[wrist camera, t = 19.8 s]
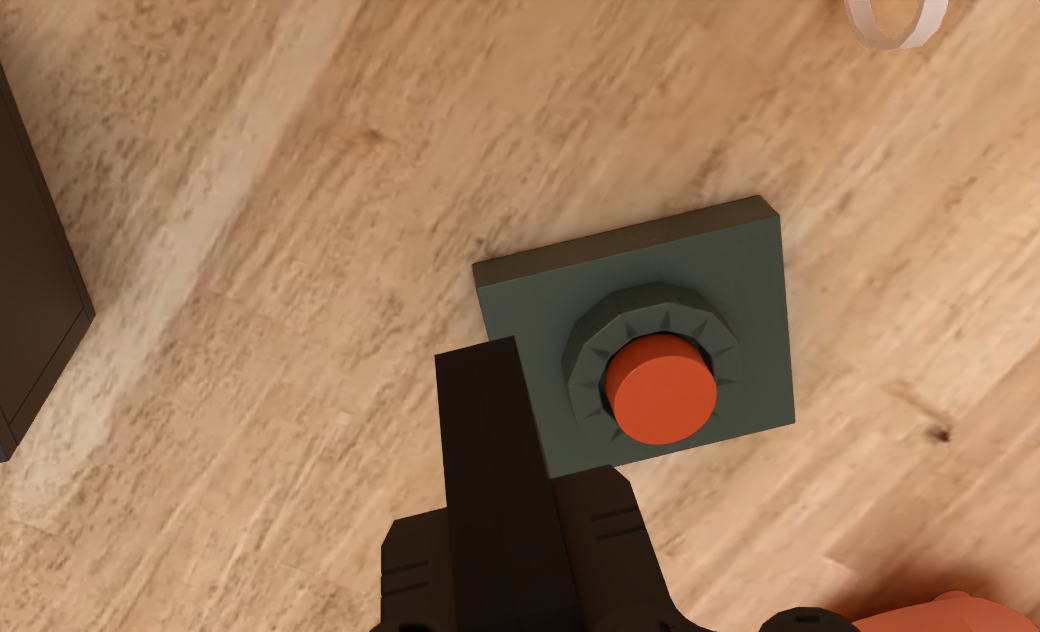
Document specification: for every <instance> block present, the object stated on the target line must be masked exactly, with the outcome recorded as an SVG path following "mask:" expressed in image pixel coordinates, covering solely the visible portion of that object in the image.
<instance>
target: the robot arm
mask: <svg viewBox="0 0 1040 632" xmlns="http://www.w3.org/2000/svg"><path fill="white" fill-rule="evenodd" d="M435 367H436V380H437V392H438V404H439V416H440V429H441V441H442V453H443V465H444V478H445V490H446V502H447V507H445V508H441V509H437V510H433V511H429V512H425V513H421V514H417V515H413V516H409V517H405V518H402V519H398V520H394V522H393V524H392V526H391V528H390V530H389V532H388V534H387V536H386V538H385V540H384V542H383V544H382V546H381V573H382V577H381V595H382V598H381V622H380V623H379V624H378V625H377V626H376V627H374V628H373V629H372V630H370V631H369V632H716V631H711V630H708V629H706V628H703V627H700V626H698V625H696V624H694V623H693V622H691V621H689V620H688V619H686V618H685V617H684V616H683V615H682V614H681V613H680V612H679V611H678V610H677V609H676V607H675V605H674V603H673V601H672V599H671V597H670V595H669V592H668V589H667V586H666V583H665V580H664V578H663V575H662V572H661V569H660V566H659V563H658V561H657V558H656V555H655V552H654V549H653V546H652V544H651V541H650V538H649V535H648V532H647V529H646V528H645V524H644V521H643V518H642V515H641V512H640V510H639V507H638V504H637V501H636V498H635V495H634V493H633V490H632V487H631V484H630V481H628V480H627V479H626V478H625V477H624V476H623V475H622V474H620V473H619V472H618V471H617V470H616V469H615V468H614V467H612V466H611V465H610V464H608V465H604V466H600V467H596V468H592V469H588V470H584V471H580V472H576V473H572V474H568V475H564V476H560V477H556V478H552V479H551V478H550V474H549V470H548V465H547V461H546V457H545V453H544V449H543V445H542V441H541V437H540V433H539V429H538V426H537V422H536V418H535V414H534V410H533V406H532V402H531V398H530V394H529V391H528V387H527V383H526V379H525V375H524V371H523V367H522V363H521V360H520V356H519V352H518V348H517V344H516V340H515V336H514V335H513V336H509V337H505V338H501V339H497V340H493V341H489V342H485V343H481V344H477V345H473V346H469V347H465V348H461V349H457V350H453V351H449V352H445V353H441V354H437V355H435ZM759 632H861V631H860V630H859V629H858V628H857V627H856V626H855V625H853V624H852V623H851V622H849V621H848V620H847V619H845V618H844V617H842V616H841V615H840V614H837V613H834V612H831V611H828V610H825V609H822V608H817V607H796V608H792V609H789V610H785V611H782V612H778V613H777V614H775V615H774V616H773V617H771V618H770V619H769V620H767V621H766V622H765V623H763V624H762V626H761V628H760V630H759Z"/></svg>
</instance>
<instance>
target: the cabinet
mask: <svg viewBox="0 0 1040 632" xmlns="http://www.w3.org/2000/svg"><path fill="white" fill-rule="evenodd" d="M94 317H95V312H94V309H93V307H92V304H91V301H90V299H89V296H88V293H87V291H86V288H85V286H84V283H83V280H82V278H81V275H80V272H79V270H78V267H77V265H76V262H75V259H74V257H73V254H72V251H71V249H70V246H69V244H68V241H67V238H66V236H65V233H64V230H63V228H62V225H61V222H60V220H59V217H58V215H57V212H56V209H55V207H54V204H53V201H52V199H51V196H50V194H49V191H48V188H47V186H46V183H45V180H44V178H43V175H42V173H41V170H40V167H39V165H38V162H37V159H36V157H35V154H34V151H33V149H32V146H31V144H30V141H29V138H28V136H27V133H26V130H25V128H24V125H23V123H22V120H21V117H20V115H19V112H18V109H17V107H16V104H15V102H14V99H13V96H12V94H11V91H10V88H9V86H8V83H7V81H6V78H5V75H4V73H3V70H2V67H1V65H0V463H2V462H7V461H9V460H10V458H11V457H12V455H13V453H14V452H15V450H16V448H17V446H19V444H20V442H21V441H22V439H23V437H24V436H25V434H26V432H27V431H28V429H29V427H30V426H31V424H32V422H33V421H34V419H35V417H36V416H37V414H38V412H39V411H40V409H41V407H42V406H43V404H44V402H45V401H46V399H47V397H48V396H49V394H50V392H51V390H52V389H53V387H54V385H55V384H56V382H57V380H58V379H59V377H60V375H61V374H62V372H63V370H64V369H65V367H66V365H67V364H68V362H69V360H70V359H71V357H72V355H73V354H74V352H75V350H76V349H77V347H78V345H79V344H80V342H81V340H82V338H83V337H84V335H85V333H86V332H87V330H88V328H89V327H90V324H91V323H92V321H93V319H94Z"/></svg>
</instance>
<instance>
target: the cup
mask: <svg viewBox="0 0 1040 632" xmlns="http://www.w3.org/2000/svg"><path fill="white" fill-rule="evenodd" d="M948 1H949V0H918V7H917V10H916V12H915V15H914V18H913V21H912V22H911V23H910V25H909V26H908V27H907V28H906V29H905V30H904V31H903V32H902V33H901V34H900V35H899V37H898V38H897V39H894V38H889V37H887V36H886V34H885V33H884V32H883V31H882V30H881V28H880V27H879V26H878V25H877V23H876V21H875V18H874V15H873V11H872V8H871V4H870V1H869V0H844V5H845V9H846V12H847V16H848V19H849V22H850V25H851V28H852V31H853V33H854V34H855V35H856V37H857V38H858V39H859V40H860V41H861V43H862V44H863V45H864V46H865V47H867V48H870V49H874V50H878V51H887V50H900V49H908V48H915V47H921V46H922V45H923V44H924V43H925V42H926V41H927V40H928V39H929V38H930V37H931V36H932V35H933V34H934V33H935V32H936V31H937V30H938V29H939V27H940V24H941V22H942V19H943V17H944V14H945V12H946V9H947V5H948Z"/></svg>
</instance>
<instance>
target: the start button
mask: <svg viewBox="0 0 1040 632" xmlns="http://www.w3.org/2000/svg"><path fill="white" fill-rule="evenodd" d="M605 390H606V394H607V397H608V400H609V402H610V405H611V408H612V410H613V413H614V416H615V418H616V421H617V423H618V425H619V426H620V428H621V429H622V430H623V431H624V432H625V433H626V434H627V435H628V436H630V437H632V438H633V439H635V440H637V441H640V442H643V443H647V444H658V445H659V444H668V443H673V442H676V441H679V440H682V439H684V438H686V437H688V436H690V435H691V434H693V433H694V432H696V431H697V430H698V429H699V428H701V427H702V426H703V424H704V423H705V422H706V421H707V420H708V418H709V417H710V415H711V413H712V411H713V409H714V406H715V403H716V396H717V389H716V384H715V381H714V378H713V376H712V374H711V373H710V371H709V369H708V368H707V366H706V364H705V362H704V361H703V359H702V357H701V355H700V354H699V352H698V351H697V349H696V348H695V347H694V346H693V345H692V344H691V343H690V342H688V341H686V340H685V339H683V338H681V337H678V336H675V335H670V334H652V335H647V336H644V337H641V338H638V339H636V340H634V341H632V342H630V343H629V344H627V345H626V346H625V347H623V348H622V349H621V350H620V351H619V352H618V353H617V354H616V355H615V356H614V358H613V359H612V361H611V363H610V365H609V367H608V369H607V372H606V377H605Z"/></svg>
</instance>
